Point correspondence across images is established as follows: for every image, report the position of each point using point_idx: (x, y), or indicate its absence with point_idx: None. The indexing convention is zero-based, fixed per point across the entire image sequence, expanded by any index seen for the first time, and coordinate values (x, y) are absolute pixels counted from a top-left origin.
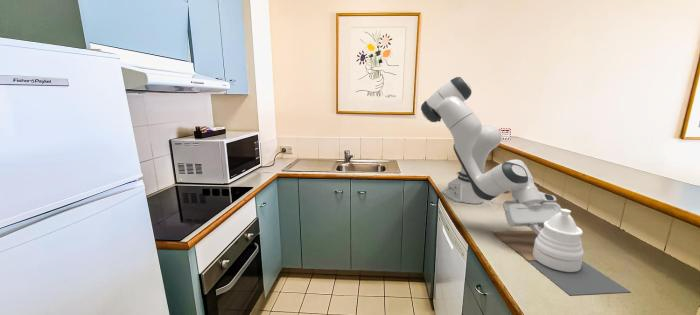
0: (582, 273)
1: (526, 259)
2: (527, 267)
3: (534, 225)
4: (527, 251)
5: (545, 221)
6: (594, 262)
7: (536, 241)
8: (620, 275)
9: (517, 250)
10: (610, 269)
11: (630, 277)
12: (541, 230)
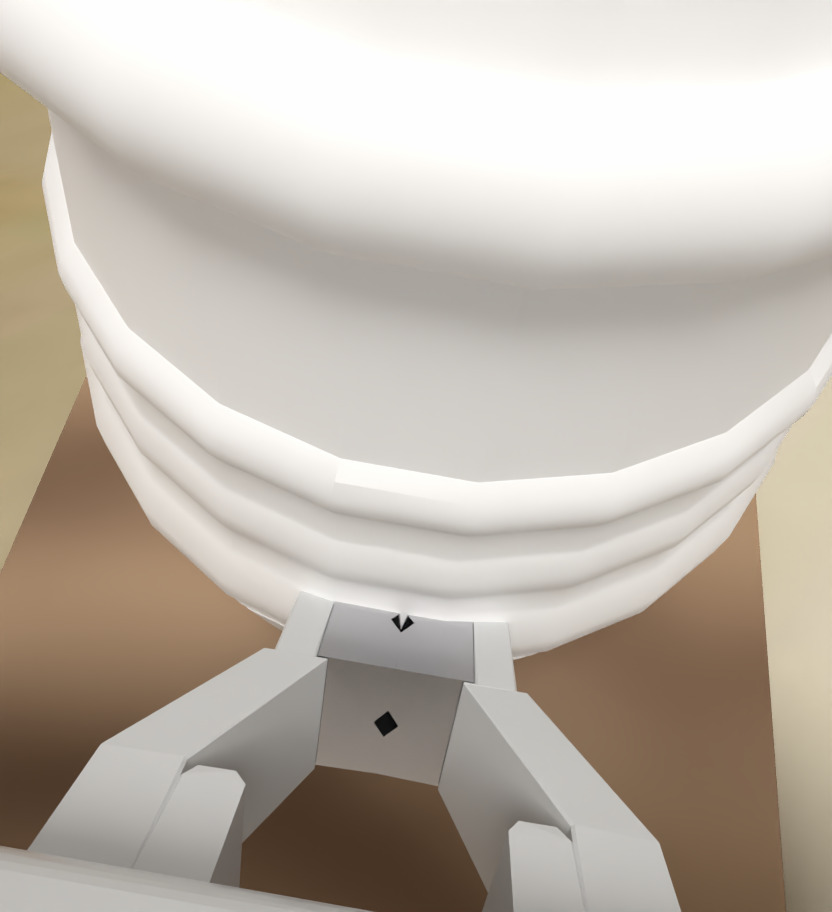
0: None
1: (751, 531)
2: (818, 422)
3: (653, 902)
4: (629, 675)
5: (76, 905)
6: (2, 316)
7: (775, 453)
8: (47, 138)
9: (762, 739)
10: (10, 206)
11: (2, 105)
12: (771, 407)
